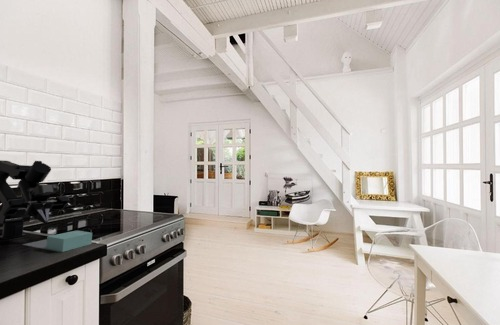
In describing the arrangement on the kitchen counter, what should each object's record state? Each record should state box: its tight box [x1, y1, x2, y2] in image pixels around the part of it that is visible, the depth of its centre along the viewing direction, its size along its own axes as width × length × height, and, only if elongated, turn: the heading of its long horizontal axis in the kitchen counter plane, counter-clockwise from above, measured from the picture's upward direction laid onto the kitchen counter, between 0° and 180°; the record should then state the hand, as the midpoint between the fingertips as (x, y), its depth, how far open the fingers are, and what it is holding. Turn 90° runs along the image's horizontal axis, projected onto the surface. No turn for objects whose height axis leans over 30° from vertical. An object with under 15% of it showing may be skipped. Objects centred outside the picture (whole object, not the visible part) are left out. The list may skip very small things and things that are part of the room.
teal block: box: [45, 230, 93, 253], centre depth 80 cm, size 4×10×8 cm
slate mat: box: [21, 238, 61, 253], centre depth 82 cm, size 19×10×1 cm, turn 71°
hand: (46, 222), depth 85 cm, fingers closed
